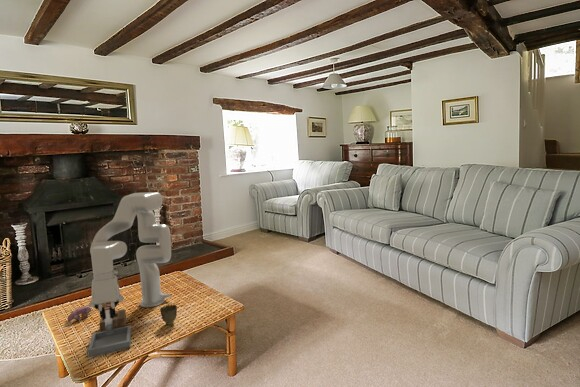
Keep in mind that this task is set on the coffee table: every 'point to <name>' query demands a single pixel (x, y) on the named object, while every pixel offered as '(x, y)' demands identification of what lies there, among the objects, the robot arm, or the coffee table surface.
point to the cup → (169, 314)
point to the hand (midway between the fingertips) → (108, 317)
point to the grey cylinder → (108, 319)
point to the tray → (110, 341)
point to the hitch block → (115, 320)
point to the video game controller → (77, 312)
